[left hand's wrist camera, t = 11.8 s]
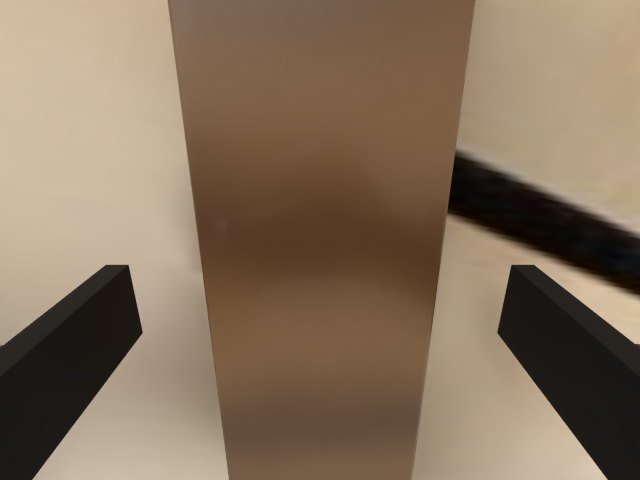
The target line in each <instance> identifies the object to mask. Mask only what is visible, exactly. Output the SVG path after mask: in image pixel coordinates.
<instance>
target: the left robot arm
mask: <svg viewBox="0 0 640 480" xmlns="http://www.w3.org/2000/svg"><path fill="white" fill-rule="evenodd" d="M142 333H143V332H142V327H141V322H140V318H139V313H138V308H137V303H136V298H135V294H134V289H133V284H132V279H131V275H130V270H129V265H105V266H104V267H103V268H101V269H100V270H99V271H98V272H96V273H95V274H94V275H93V276H91V277H90V278H89V279H87V280H86V281H85V282H84V283H82V284H81V285H80V286H78V287H77V288H76V289H75V290H73V291H72V292H71V293H70V294H68V295H67V296H66V297H64V298H63V299H62V300H61V301H59V302H58V303H57V304H56V305H54V306H53V307H52V308H50V309H49V310H48V311H47V312H45V313H44V314H43V315H42V316H40V317H39V318H38V319H36V320H35V321H34V322H33V323H31V324H30V325H29V326H27V327H26V328H25V329H24V330H22V331H21V332H20V333H19V334H17V335H16V336H15V337H13V338H12V339H11V340H10V341H8V342H7V343H6V344H5V345H2V346H0V480H32V479H33V478H34V477H35V475H36V474H37V473H38V471H39V470H40V469H41V467H42V466H43V465H44V463H45V462H46V461H47V459H48V458H49V457H50V455H51V454H52V453H53V451H54V450H55V449H56V447H57V446H58V445H59V443H60V442H61V441H62V439H63V438H64V437H65V435H66V434H67V433H68V431H69V430H70V429H71V427H72V426H73V425H74V423H75V422H76V421H77V419H78V418H79V417H80V416H81V414H82V413H83V412H84V410H85V409H86V408H87V406H88V405H89V404H90V402H91V401H92V400H93V398H94V397H95V396H96V394H97V393H98V392H99V390H100V389H101V388H102V386H103V385H104V384H105V382H106V381H107V380H108V378H109V377H110V376H111V374H112V373H113V372H114V370H115V369H116V368H117V366H118V365H119V364H120V362H121V361H122V360H123V358H124V357H125V356H126V354H127V353H128V352H129V350H130V349H131V348H132V346H133V345H134V344H135V342H136V341H137V340H138V338H139V337H140V336H141V334H142ZM497 333H498V334H499V336H500V337H501V338H502V340H503V341H504V342H505V344H506V345H507V346H508V348H509V349H510V350H511V352H512V353H513V354H514V356H515V357H516V358H517V360H518V361H519V362H520V364H521V365H522V366H523V368H524V369H525V370H526V372H527V373H528V374H529V376H530V377H531V378H532V380H533V381H534V382H535V384H536V385H537V386H538V388H539V389H540V390H541V392H542V393H543V394H544V396H545V397H546V398H547V400H548V401H549V402H550V404H551V405H552V406H553V408H554V409H555V410H556V412H557V413H558V414H559V416H560V417H561V418H562V420H563V421H564V422H565V423H566V425H567V426H568V427H569V429H570V430H571V431H572V433H573V434H574V435H575V437H576V438H577V439H578V441H579V442H580V443H581V445H582V446H583V447H584V449H585V450H586V451H587V453H588V454H589V455H590V457H591V458H592V459H593V461H594V462H595V463H596V465H597V466H598V467H599V469H600V470H601V471H602V473H603V474H604V475H605V477H606V478H607V479H608V480H640V345H639V344H634V343H633V342H632V341H630V340H629V339H628V338H627V337H625V336H624V335H623V334H621V333H620V332H619V331H618V330H616V329H615V328H614V327H613V326H611V325H610V324H609V323H607V322H606V321H605V320H604V319H602V318H601V317H600V316H598V315H597V314H596V313H595V312H593V311H592V310H591V309H590V308H588V307H587V306H586V305H584V304H583V303H582V302H581V301H579V300H578V299H577V298H576V297H574V296H573V295H572V294H570V293H569V292H568V291H567V290H565V289H564V288H563V287H562V286H560V285H559V284H558V283H556V282H555V281H554V280H553V279H551V278H550V277H549V276H547V275H546V274H545V273H544V272H542V271H541V270H540V269H539V268H537V267H536V266H535V265H511V270H510V275H509V279H508V284H507V289H506V294H505V298H504V303H503V308H502V313H501V318H500V322H499V327H498V332H497Z"/></svg>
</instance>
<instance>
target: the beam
mask: <svg viewBox="0 0 640 480" xmlns="http://www.w3.org/2000/svg"><path fill="white" fill-rule="evenodd" d="M474 5H475V0H168V6H169V14H170V22H171V30H172V38H173V45H174V53H175V61H176V69H177V77H178V84H179V92H180V100H181V108H182V116H183V123H184V131H185V139H186V147H187V155H188V162H189V170H190V178H191V186H192V194H193V201H194V209H195V217H196V225H197V233H198V240H199V248H200V256H201V264H202V272H203V279H204V287H205V295H206V303H207V311H208V318H209V326H210V334H211V342H212V350H213V357H214V365H215V373H216V381H217V389H218V396H219V404H220V412H221V420H222V428H223V435H224V443H225V451H226V459H227V467H228V474H229V480H412V474H413V466H414V458H415V451H416V443H417V436H418V428H419V421H420V413H421V405H422V398H423V390H424V383H425V375H426V368H427V360H428V353H429V345H430V337H431V330H432V322H433V315H434V307H435V300H436V292H437V284H438V277H439V269H440V262H441V254H442V247H443V239H444V231H445V224H446V216H447V209H448V201H449V194H450V186H451V179H452V171H453V163H454V156H455V148H456V141H457V133H458V126H459V118H460V110H461V103H462V95H463V88H464V80H465V73H466V65H467V58H468V50H469V42H470V35H471V27H472V20H473V12H474Z"/></svg>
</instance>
